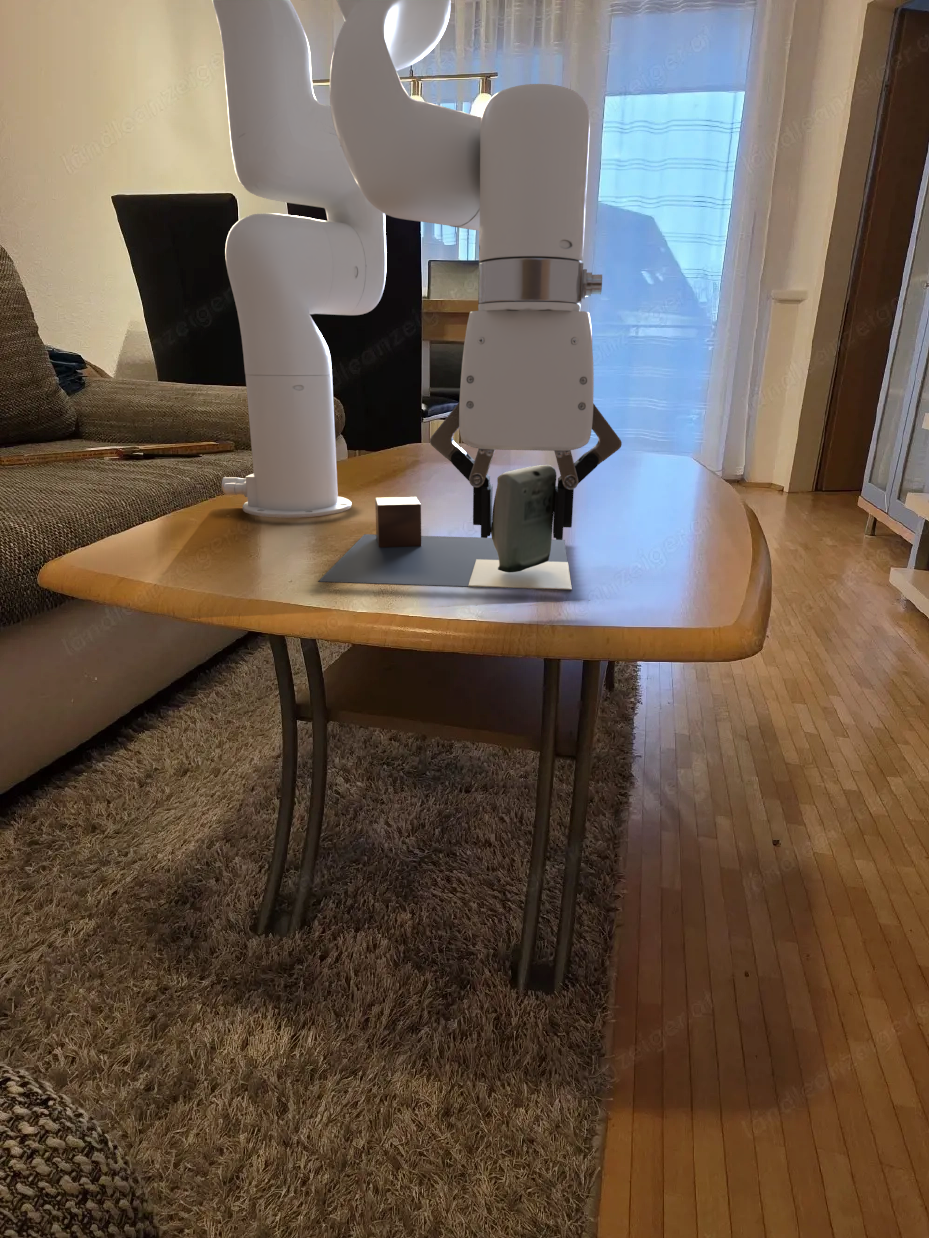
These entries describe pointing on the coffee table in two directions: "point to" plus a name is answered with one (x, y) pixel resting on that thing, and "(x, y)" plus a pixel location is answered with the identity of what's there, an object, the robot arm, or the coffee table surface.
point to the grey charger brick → (523, 517)
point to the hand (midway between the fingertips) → (521, 532)
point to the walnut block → (398, 521)
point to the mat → (446, 565)
